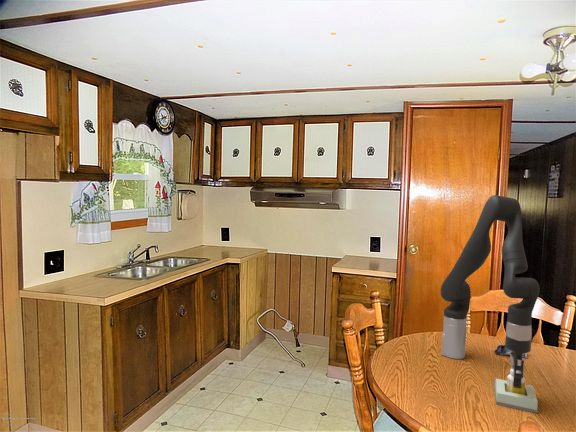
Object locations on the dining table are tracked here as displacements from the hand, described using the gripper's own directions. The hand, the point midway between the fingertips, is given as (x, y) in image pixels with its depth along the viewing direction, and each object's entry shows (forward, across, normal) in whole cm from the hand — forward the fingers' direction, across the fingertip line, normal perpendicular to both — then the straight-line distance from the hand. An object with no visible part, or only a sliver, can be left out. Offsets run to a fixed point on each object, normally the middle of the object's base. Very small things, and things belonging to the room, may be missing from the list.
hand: (515, 382), depth 133 cm
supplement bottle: (+6, 0, 0) cm, 6 cm away
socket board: (+6, -2, 0) cm, 7 cm away
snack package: (+7, -44, +1) cm, 44 cm away
